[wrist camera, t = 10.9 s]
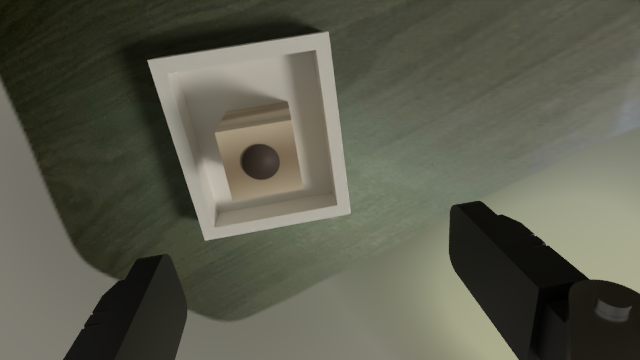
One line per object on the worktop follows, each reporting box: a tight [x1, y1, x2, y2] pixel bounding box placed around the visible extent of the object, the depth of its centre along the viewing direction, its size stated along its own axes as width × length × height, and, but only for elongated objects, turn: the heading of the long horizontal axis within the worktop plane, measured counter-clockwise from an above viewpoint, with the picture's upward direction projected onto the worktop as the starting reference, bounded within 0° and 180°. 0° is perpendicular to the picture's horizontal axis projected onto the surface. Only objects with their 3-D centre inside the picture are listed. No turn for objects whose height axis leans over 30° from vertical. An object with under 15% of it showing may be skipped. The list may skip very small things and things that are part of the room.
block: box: [215, 102, 303, 201], centre depth 26 cm, size 5×5×6 cm
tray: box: [147, 31, 351, 241], centre depth 28 cm, size 14×12×3 cm
